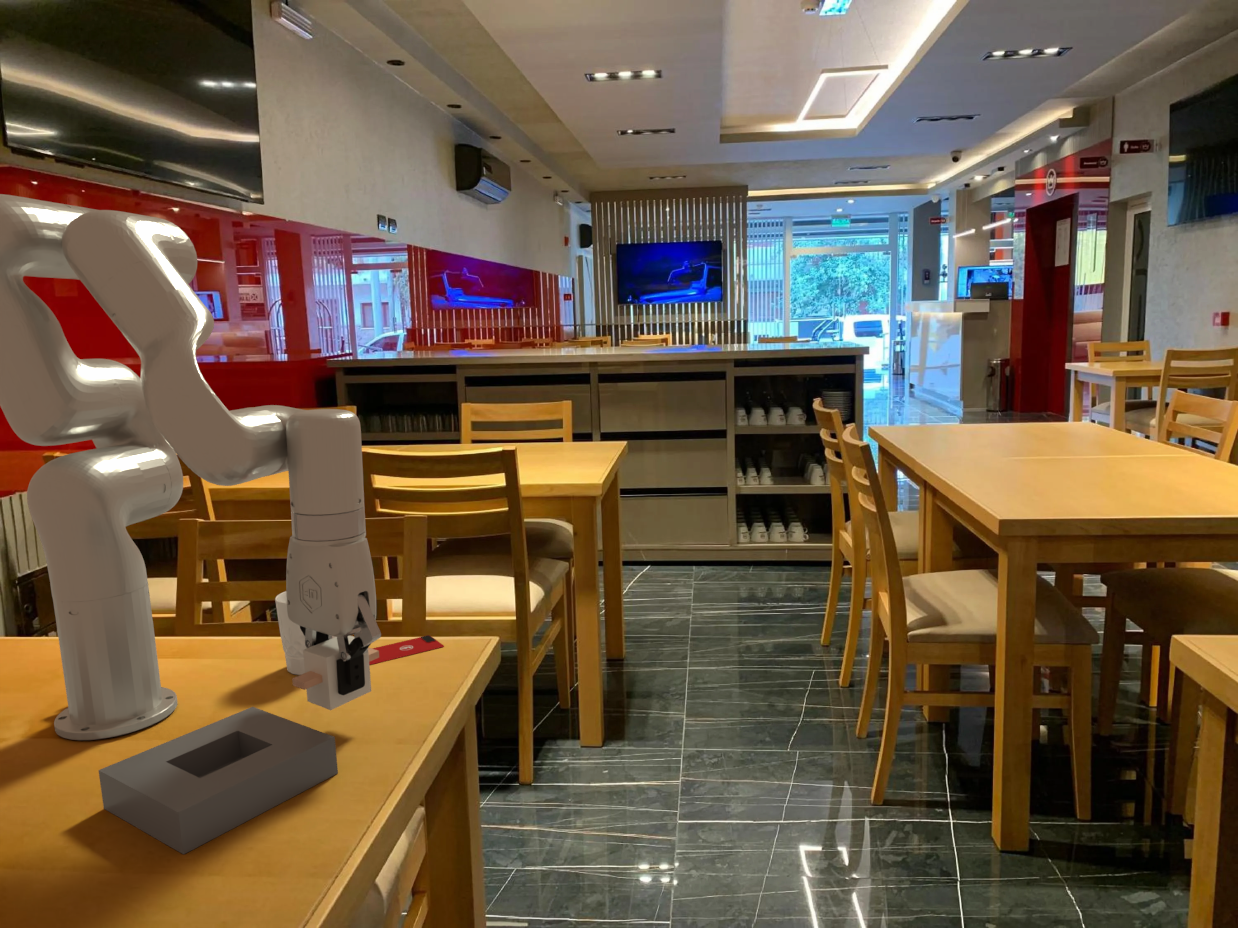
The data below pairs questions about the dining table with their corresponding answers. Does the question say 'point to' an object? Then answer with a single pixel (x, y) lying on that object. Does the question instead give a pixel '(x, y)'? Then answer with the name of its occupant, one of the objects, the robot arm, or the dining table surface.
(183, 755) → the block
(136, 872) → the dining table surface
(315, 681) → the block
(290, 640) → the white cup
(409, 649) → the electronic device
